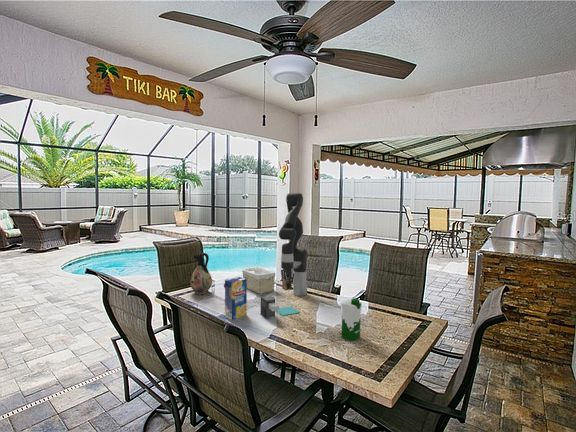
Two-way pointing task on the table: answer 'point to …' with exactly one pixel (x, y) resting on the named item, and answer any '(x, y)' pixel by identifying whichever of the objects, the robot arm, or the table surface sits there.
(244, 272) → the storage basket
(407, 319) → the table surface
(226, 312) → the blue yellow food box
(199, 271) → the ceramic jug
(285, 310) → the mat
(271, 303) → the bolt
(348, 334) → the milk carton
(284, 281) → the block
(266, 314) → the block
